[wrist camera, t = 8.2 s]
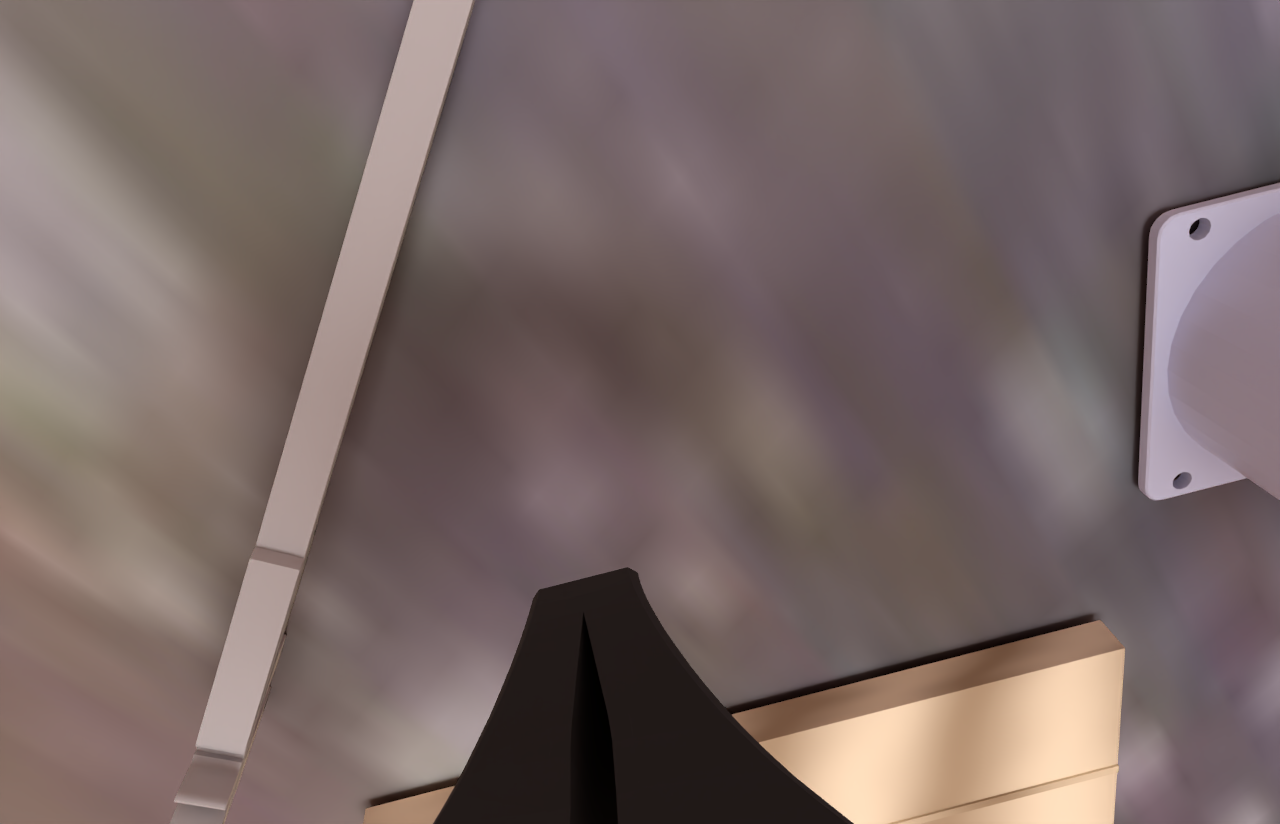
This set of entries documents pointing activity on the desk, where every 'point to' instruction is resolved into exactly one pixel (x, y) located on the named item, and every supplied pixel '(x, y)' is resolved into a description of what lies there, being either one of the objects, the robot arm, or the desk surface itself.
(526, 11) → the desk surface
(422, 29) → the caliper
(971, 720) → the loose plank
